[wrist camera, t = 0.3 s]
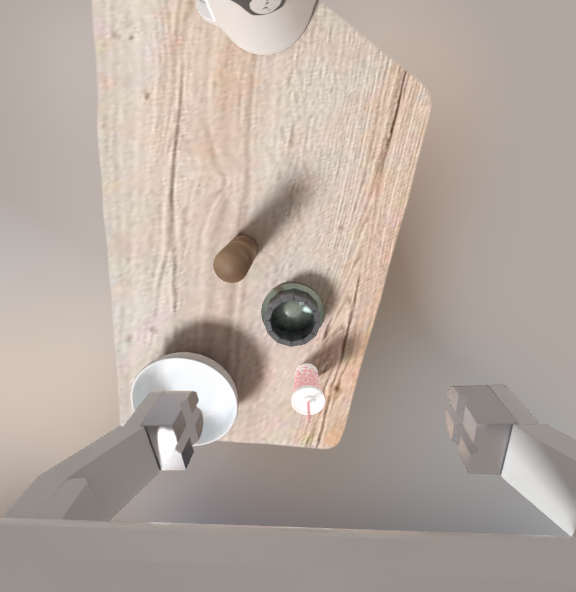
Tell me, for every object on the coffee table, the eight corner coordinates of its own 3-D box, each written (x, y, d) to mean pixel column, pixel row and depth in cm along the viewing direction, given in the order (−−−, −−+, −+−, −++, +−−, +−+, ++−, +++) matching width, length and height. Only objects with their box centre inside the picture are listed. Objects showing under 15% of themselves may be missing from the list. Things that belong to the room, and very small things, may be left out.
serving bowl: (263, 389, 67) (259, 412, 60) (195, 436, 72) (185, 461, 66) (194, 321, 61) (182, 337, 55) (125, 376, 67) (107, 398, 60)
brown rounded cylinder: (226, 237, 55) (208, 253, 44) (253, 231, 55) (243, 245, 44) (234, 264, 57) (219, 285, 46) (260, 259, 57) (251, 279, 45)
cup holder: (255, 289, 59) (252, 297, 55) (317, 277, 57) (319, 284, 54) (269, 344, 63) (268, 355, 59) (328, 334, 62) (330, 344, 58)
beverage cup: (292, 359, 64) (291, 406, 51) (322, 360, 64) (328, 407, 51) (291, 384, 66) (290, 435, 53) (320, 385, 66) (326, 436, 53)
